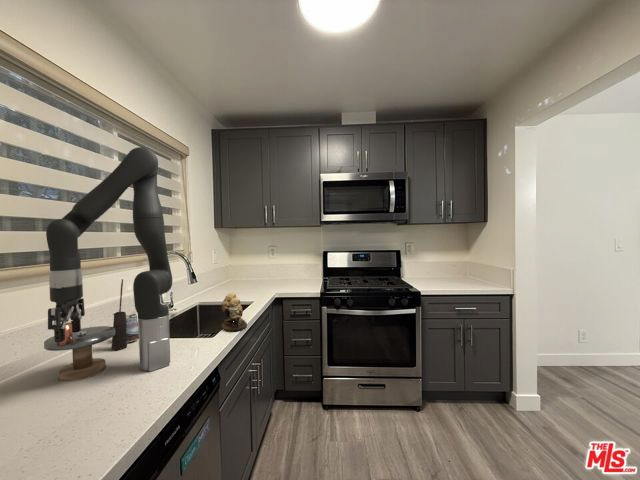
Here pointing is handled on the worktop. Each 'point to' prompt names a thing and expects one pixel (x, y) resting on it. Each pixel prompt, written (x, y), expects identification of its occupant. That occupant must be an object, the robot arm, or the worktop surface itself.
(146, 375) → the worktop surface
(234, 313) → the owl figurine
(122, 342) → the butter churn
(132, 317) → the beverage can
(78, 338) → the grey disc with knob
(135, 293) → the robot arm
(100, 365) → the wheel stand
